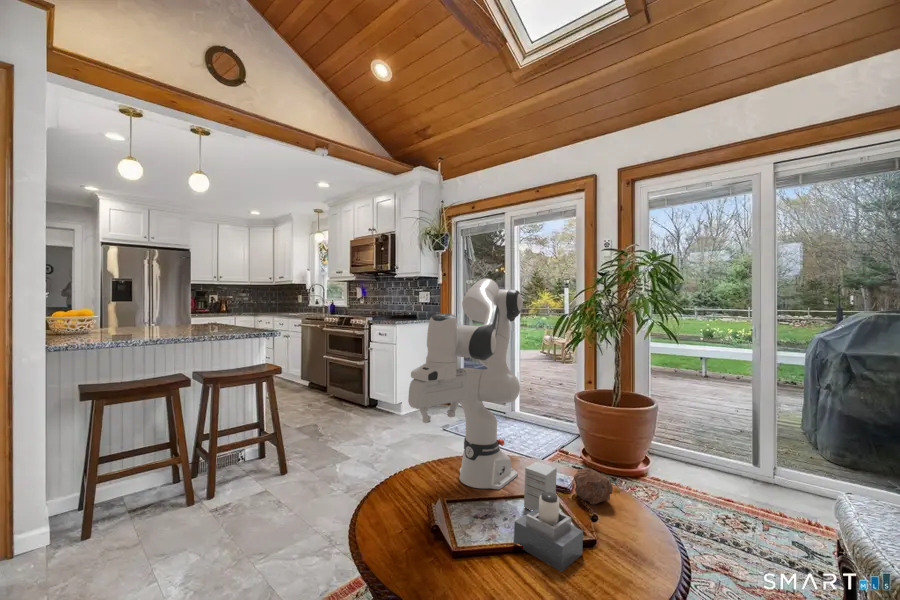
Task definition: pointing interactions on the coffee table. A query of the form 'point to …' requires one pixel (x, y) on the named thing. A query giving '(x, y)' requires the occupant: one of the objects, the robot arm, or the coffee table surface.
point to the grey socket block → (549, 539)
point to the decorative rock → (592, 486)
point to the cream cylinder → (549, 508)
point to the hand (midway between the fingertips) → (439, 419)
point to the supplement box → (538, 483)
